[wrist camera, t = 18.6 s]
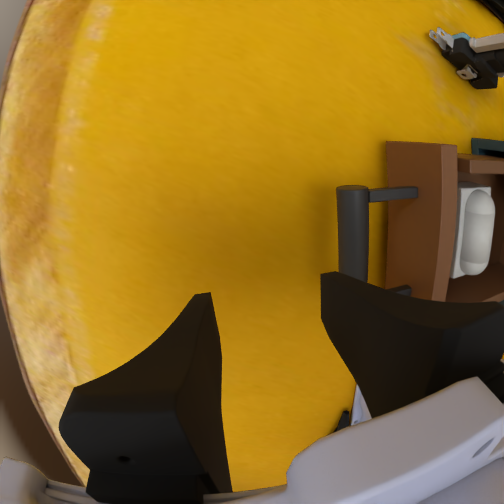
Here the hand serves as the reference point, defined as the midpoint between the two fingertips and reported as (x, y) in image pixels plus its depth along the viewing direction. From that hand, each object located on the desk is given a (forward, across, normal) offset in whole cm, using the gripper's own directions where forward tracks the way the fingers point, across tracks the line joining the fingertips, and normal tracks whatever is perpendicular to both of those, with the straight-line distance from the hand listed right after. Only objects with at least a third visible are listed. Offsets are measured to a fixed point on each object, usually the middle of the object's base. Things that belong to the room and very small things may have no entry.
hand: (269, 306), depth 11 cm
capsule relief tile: (+5, -14, 0) cm, 15 cm away
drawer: (+6, -13, 0) cm, 15 cm away
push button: (+8, -18, -13) cm, 23 cm away
